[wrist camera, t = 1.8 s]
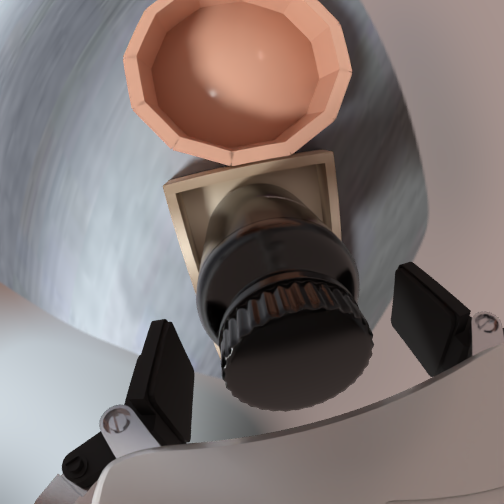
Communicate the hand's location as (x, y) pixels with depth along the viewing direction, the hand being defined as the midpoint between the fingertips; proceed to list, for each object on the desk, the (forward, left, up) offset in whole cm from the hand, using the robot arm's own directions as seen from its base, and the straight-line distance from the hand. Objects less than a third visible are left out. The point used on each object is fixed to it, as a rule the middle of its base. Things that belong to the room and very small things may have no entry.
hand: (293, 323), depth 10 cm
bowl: (-11, 0, -9) cm, 15 cm away
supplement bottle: (-1, 0, -9) cm, 9 cm away
